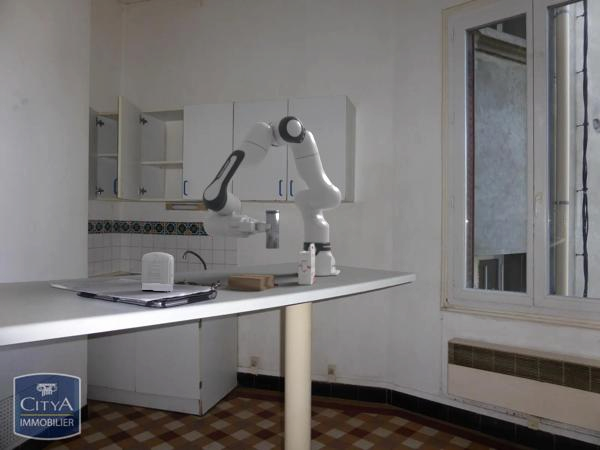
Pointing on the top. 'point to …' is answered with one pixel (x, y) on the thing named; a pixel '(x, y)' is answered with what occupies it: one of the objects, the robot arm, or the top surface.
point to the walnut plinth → (251, 282)
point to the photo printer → (157, 268)
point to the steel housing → (273, 233)
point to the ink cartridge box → (306, 266)
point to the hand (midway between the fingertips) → (274, 226)
